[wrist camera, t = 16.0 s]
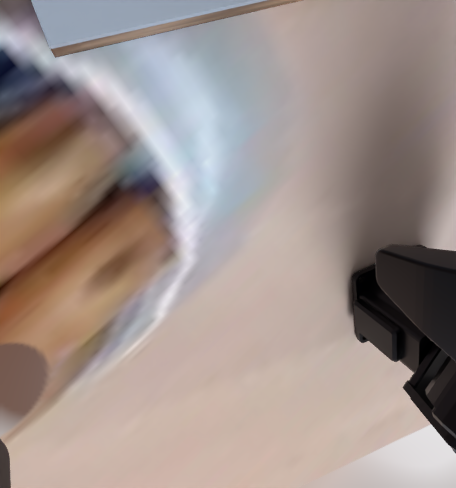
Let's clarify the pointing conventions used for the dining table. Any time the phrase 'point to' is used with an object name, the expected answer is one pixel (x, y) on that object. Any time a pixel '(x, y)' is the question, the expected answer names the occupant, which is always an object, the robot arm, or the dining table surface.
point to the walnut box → (166, 27)
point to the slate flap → (116, 16)
